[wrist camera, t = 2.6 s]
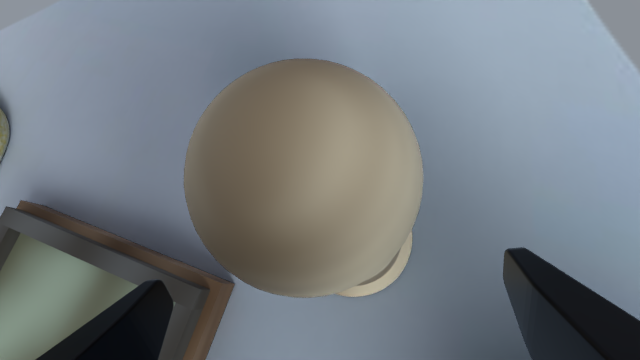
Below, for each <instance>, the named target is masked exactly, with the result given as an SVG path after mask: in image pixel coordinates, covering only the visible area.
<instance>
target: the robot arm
mask: <svg viewBox="0 0 640 360" xmlns="http://www.w3.org/2000/svg"><path fill="white" fill-rule="evenodd" d="M503 279H504V284H505V287H506V290H507V293H508V296H509V299H510V301H511V304H512V307H513V310H514V313H515V316H516V319H517V322H518V325H519V327H520V330H521V333H522V336H523V339H524V341H525V344H526V347H527V349H528V351H529V353H530V356H531V358H532V360H640V321H639V320H638V319H636V318H635V317H633V316H632V315H630V314H628V313H627V312H625V311H624V310H622V309H621V308H619V307H617V306H616V305H614V304H613V303H611V302H610V301H608V300H606V299H605V298H603V297H602V296H600V295H599V294H597V293H595V292H594V291H592V290H591V289H589V288H588V287H586V286H584V285H583V284H581V283H580V282H578V281H577V280H575V279H573V278H572V277H570V276H569V275H567V274H566V273H564V272H562V271H561V270H559V269H558V268H556V267H555V266H553V265H551V264H550V263H548V262H547V261H545V260H544V259H542V258H540V257H539V256H537V255H536V254H534V253H533V252H531V251H529V250H528V249H526V248H522V247H521V248H509V249H507V250H505V253H504V267H503ZM173 306H174V304H173V299H172V297H171V295H170V293H169V291H168V289H167V288H166V286H165V284H164V282H163V281H162V280H159V279H155V280H147V281H145V282H143V283H142V284H140V285H139V286H137V287H136V288H135V289H133V290H132V291H130V292H129V293H128V294H126V295H125V296H123V297H122V298H121V299H119V300H118V301H116V302H115V303H114V304H112V305H111V306H110V307H108V308H107V309H105V310H104V311H103V312H101V313H100V314H98V315H97V316H96V317H94V318H93V319H91V320H90V321H89V322H87V323H86V324H84V325H83V326H82V327H80V328H79V329H77V330H76V331H75V332H73V333H72V334H70V335H69V336H68V337H66V338H65V339H63V340H62V341H61V342H59V343H58V344H56V345H55V346H54V347H52V348H51V349H49V350H48V351H47V352H45V353H44V354H42V355H41V356H40V357H38V358H37V359H35V360H158V358H159V355H160V352H161V349H162V345H163V342H164V338H165V335H166V332H167V328H168V325H169V321H170V318H171V315H172V311H173Z"/></svg>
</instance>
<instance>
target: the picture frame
mask: <svg viewBox="0 0 640 360" xmlns="http://www.w3.org/2000/svg"><path fill="white" fill-rule="evenodd" d="M155 279H159V280H162V281H163V282H164V284H165V286H166V288H167V289H168V291H169V293H170V295H171V297H172V299H173V304H174V306H173V311H172V315H171V318H170V321H169V325H168V328H167V332H166V335H165V338H164V342H163V345H162V349H161V352H160V355H159V358H158V360H205V359H206V357H207V354H208V351H209V349H210V346H211V344H212V341H213V339H214V336H215V333H216V331H217V328H218V326H219V323H220V321H221V318H222V315H223V313H224V310H225V308H226V305H227V303H228V300H229V298H230V295H231V292H232V290H233V287H234V285H235V284H234V283H231V282H229V281H226V280H224V279H221V278H219V277H217V276H214V275H212V274H209V273H207V272H204V271H202V270H199V269H197V268H195V267H192V266H190V265H187V264H185V263H182V262H180V261H177V260H175V259H173V258H170V257H168V256H165V255H163V254H160V253H158V252H156V251H153V250H151V249H148V248H146V247H143V246H141V245H138V244H136V243H134V242H131V241H129V240H126V239H124V238H121V237H119V236H116V235H114V234H112V233H109V232H107V231H104V230H102V229H99V228H97V227H95V226H92V225H90V224H87V223H85V222H82V221H80V220H77V219H75V218H73V217H70V216H68V215H65V214H63V213H60V212H58V211H55V210H53V209H51V208H48V207H46V206H43V205H39V204H35V203H31V202H27V201H22V200H21V201H20V203H19V205H18V207H17V208H11V207H6V208H5V210H4V211H3V213H2V215H1V217H0V360H35V359H37V358H38V357H40V356H41V355H42V354H44V353H45V352H47V351H48V350H49V349H51V348H52V347H54V346H55V345H56V344H58V343H59V342H61V341H62V340H63V339H65V338H66V337H68V336H69V335H70V334H72V333H73V332H75V331H76V330H77V329H79V328H80V327H82V326H83V325H84V324H86V323H87V322H89V321H90V320H91V319H93V318H94V317H96V316H97V315H98V314H100V313H101V312H103V311H104V310H105V309H107V308H108V307H110V306H111V305H112V304H114V303H115V302H116V301H118V300H119V299H121V298H122V297H123V296H125V295H126V294H128V293H129V292H130V291H132V290H133V289H135V288H136V287H137V286H139V285H140V284H142V283H143V282H145V281H147V280H155Z"/></svg>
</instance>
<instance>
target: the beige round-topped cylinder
mask: <svg viewBox="0 0 640 360" xmlns="http://www.w3.org/2000/svg"><path fill="white" fill-rule="evenodd" d="M184 190H185V198H186V202H187V206H188V210H189V214H190V217H191V220H192V222H193V225H194V227H195V230H196V232H197V234H198V235H199V237H200V239H201V240H202V242H203V244H204V245H205V246H206V248H207V249H208V251H209V252H210V253H211V254H212V255H213V257H214V258H215V259H216V260H217V261H218V262H219V263H220V264H221V265H222V266H223V267H224V268H225V269H226V270H227V271H229V272H230V273H232V274H233V275H235V276H236V277H238V278H239V279H240V280H242V281H243V282H245V283H247V284H249V285H251V286H253V287H255V288H257V289H260V290H263V291H266V292H269V293H272V294H276V295H282V296H288V297H297V298H312V297H321V296H327V295H331V294H338V295H341V296H348V297H360V296H366V295H370V294H374V293H376V292H379V291H381V290H383V289H384V288H386V287H388V286H389V285H390V284H391V283H393V282H394V281H395V280H396V279H397V278H398V277H399V275H400V274H401V273H402V271H403V270H404V268H405V266H406V264H407V262H408V259H409V256H410V253H411V248H412V228H413V226H414V223H415V220H416V218H417V215H418V212H419V208H420V204H421V199H422V190H423V165H422V158H421V153H420V148H419V145H418V142H417V139H416V136H415V134H414V131H413V129H412V126H411V125H410V123H409V121H408V119H407V117H406V115H405V114H404V112H403V111H402V109H401V108H400V107H399V105H398V104H397V103H396V102H395V100H394V99H393V98H392V97H391V96H390V95H389V94H388V93H387V92H386V91H385V90H384V89H383V88H382V87H381V86H379V85H378V84H377V83H375V82H374V81H373V80H371V79H370V78H368V77H366V76H365V75H363V74H361V73H359V72H357V71H355V70H353V69H351V68H349V67H346V66H344V65H341V64H338V63H334V62H330V61H325V60H317V59H289V60H282V61H277V62H273V63H269V64H266V65H264V66H261V67H258V68H256V69H254V70H252V71H250V72H247V73H246V74H244V75H242V76H241V77H239V78H238V79H236V80H235V81H233V82H232V83H231V84H229V85H228V86H227V87H226V88H224V89H223V90H222V91H221V92H220V93H219V94H218V95H217V96H216V97H215V98H214V100H213V101H212V102H211V103H210V104H209V105H208V107H207V108H206V110H205V111H204V113H203V114H202V116H201V117H200V119H199V121H198V123H197V125H196V127H195V129H194V131H193V134H192V136H191V139H190V142H189V146H188V150H187V153H186V160H185V168H184Z"/></svg>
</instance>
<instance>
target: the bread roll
mask: <svg viewBox="0 0 640 360" xmlns="http://www.w3.org/2000/svg"><path fill="white" fill-rule="evenodd" d="M9 133H10V132H9V123H8V120H7V118H6V116H5V114H4V112H3V111H2V110H1V109H0V162H1V159H2V157H3V155H4V153H5V151H6V148H7V145H8V141H9Z"/></svg>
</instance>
